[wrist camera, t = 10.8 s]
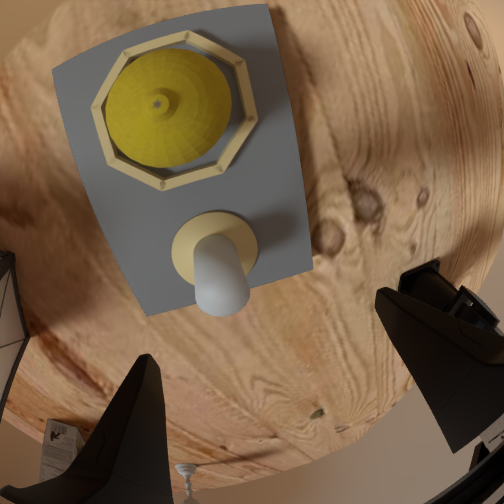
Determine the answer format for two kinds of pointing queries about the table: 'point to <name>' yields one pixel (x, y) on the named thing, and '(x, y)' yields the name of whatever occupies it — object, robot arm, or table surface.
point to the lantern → (10, 326)
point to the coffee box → (59, 449)
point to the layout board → (196, 170)
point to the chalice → (187, 480)
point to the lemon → (168, 107)
